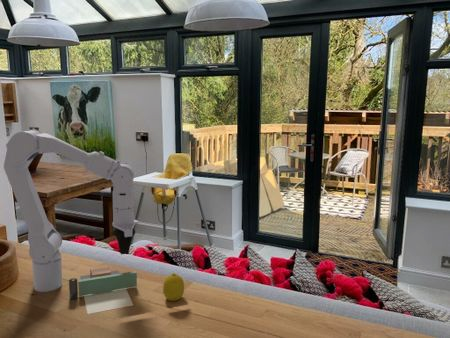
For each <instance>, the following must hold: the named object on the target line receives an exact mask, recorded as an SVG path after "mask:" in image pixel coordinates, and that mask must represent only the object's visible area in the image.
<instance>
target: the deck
mask: <svg viewBox="0 0 450 338" xmlns="http://www.w3.org/2000/svg"><path fill="white" fill-rule="evenodd" d="M110 271H111V275H113V274H120V271H119V270H113V271H112V270H110ZM79 277H80V280H81V279H88V278H90V274H86V275H85V274H84V275H80V276H79ZM127 289H128V288H124V289H118V290H113V291H107V292H101V293H95V294H89V295H84V296H83V300H84V302H85V309H86V314H87V315H89V314H90V315H91V314H95V313H101V312H107V311H111V310H117V309H123V308H126V307H131V306H134V303H133V301H132V299H131V296H130V295H129V292H128V290H127Z"/></svg>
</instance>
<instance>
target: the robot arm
mask: <svg viewBox="0 0 450 338" xmlns="http://www.w3.org/2000/svg"><path fill="white" fill-rule="evenodd" d="M5 146H6V151H5V152H6V154H5V157H4V162H3V169H4V172H5V175H6V177H7V179H8V182H9V184H10V187H11V189H12V192H13V194H14V195H13V196H14V197H15V199H16V202H17V205H18V207H19V209H20V213H21V214H22V217H23V220H24V222H25V224H26V227H27V229H28V233H27V234H28V235H27V242H28V244H29V245H28V246H29V250H28V252H29V257H30V259H31V260H32V278H33V289H34V291H36V292H38V293H39V292H40V293H42V292H43V293H47V292H52V291H55V290H58V289H59V288H61V286H62V285H63V271H62V270H63V268H62V267H63V266H62V265H63V264H62V253H60V250H59V249H60V247H61V246H62V244H63V237H62V235H61V234H60V233H59V232H58V230H56V229H55V227H54V224H52V223H51V222H50V221H49V219H48V217H47V214H46V212H45V209H44V206H43V204H42V201H41V199H40V196H39V193H38V191H37V188H36V186H35V185H36V184H35V183H34V181H33V178H32V175H31V172H30V171H29V166H30V164H31V163H32V162H33V160H34V158H35V157H36V156H38V154H39V155H41V154H49V153H50V154H51V153H54V154H57V155H59V156H62V157H64V158H66V159H69V160H72V161H74V162H77V163H79V164H82V165H83V167H84V169H85V172H86V171H87V172H89V173H91V174H93V175H96V176H98V177H100V178H103V179H104V180H109V181H110V180H111V183H112V185H113V187H112V189H113V190H112V219H113V220H112V227H113V228H112V231H113V233H114V235H115V237H116V241H117V247H118V250H119V253H120V255H121V256H122V255H128V254H129V252H130V250H131V249H130V247H131V242H132V240H133V238H134V236H135V234H136V230H135V229H134V227H135V225H138V224H139V221H138V220H137V219H135V191H134V178H135V177H134V176H135V170H134V169H133V167H132V166H131V165H129V164H128V163H127V162H121V161H122V160H119V159H116V160H115V158H112V157H109V156H107V155H105V152H103V151H101V150H100V151H99V152H98V151H92V152H86V151H85V150H83V149H80V148H79V147H76V146H74V145H72V144H71V143H69V142H66V141H64V140H62V139H60V138H58V137H56V136H53V135H52V134H49V133H46V132H41V131H40V130H37V129H29V130H26V131H18V132H16V133H14V134H13V135H12V136H11V137H10V138H9V140H8V141H7V143H6V144H5Z"/></svg>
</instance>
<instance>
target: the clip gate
mask: <svg viewBox="0 0 450 338" xmlns="http://www.w3.org/2000/svg"><path fill="white" fill-rule="evenodd" d="M119 273H120V272H119ZM137 275H138V274H137V271H136V270H134V271H133V270H132V271H127V272H121V273H120V274H113V275H107V276H101V277H94V278H88V279H81V278H80V279H77V285H78V297H84V295H89V294H95V293H101V292H107V291H113V290H118V289H124V288H126V289H129V288H135V287H137V286H138V282H137V280H138V279H137V278H138V276H137Z"/></svg>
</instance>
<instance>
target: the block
mask: <svg viewBox="0 0 450 338" xmlns="http://www.w3.org/2000/svg"><path fill="white" fill-rule="evenodd" d="M89 271H90V274H89V275H90V278H94V277H101V276H107V275H111V271H112V270H111V268H110V266H109V265H101V266H94V267H90V268H89Z"/></svg>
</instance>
